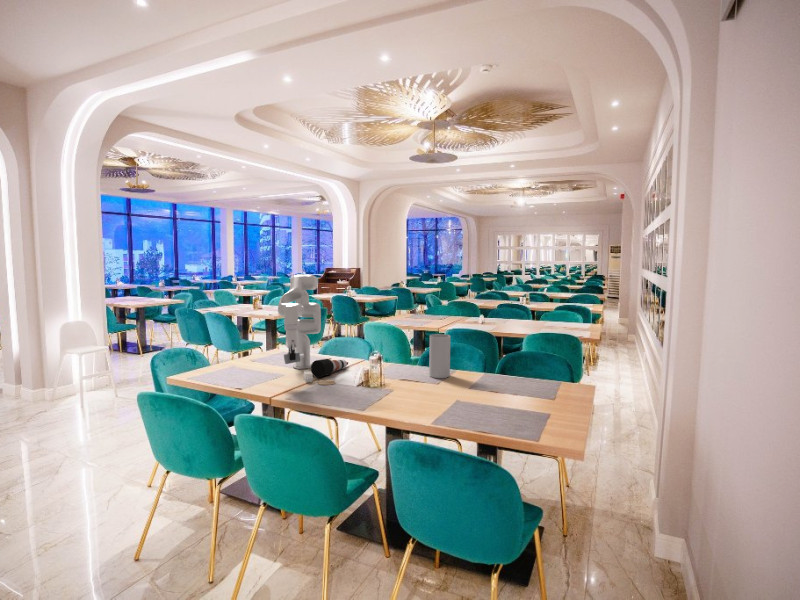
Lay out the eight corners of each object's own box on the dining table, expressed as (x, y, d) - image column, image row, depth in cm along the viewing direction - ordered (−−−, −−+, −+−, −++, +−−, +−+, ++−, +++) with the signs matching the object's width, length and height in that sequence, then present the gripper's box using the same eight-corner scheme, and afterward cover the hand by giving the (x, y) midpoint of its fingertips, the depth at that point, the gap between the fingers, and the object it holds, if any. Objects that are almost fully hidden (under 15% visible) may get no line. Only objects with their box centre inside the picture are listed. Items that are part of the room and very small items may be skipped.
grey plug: (285, 364, 253) (284, 355, 252) (284, 362, 256) (283, 354, 256) (305, 360, 257) (303, 351, 256) (303, 358, 260) (302, 350, 260)
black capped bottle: (349, 373, 301) (356, 361, 299) (319, 380, 271) (327, 366, 269) (338, 365, 305) (344, 352, 303) (308, 370, 275) (315, 356, 273)
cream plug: (303, 379, 270) (303, 370, 270) (310, 378, 272) (309, 370, 271) (306, 383, 260) (306, 375, 260) (313, 383, 261) (313, 374, 261)
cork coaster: (316, 381, 265) (316, 380, 265) (332, 379, 268) (332, 378, 268) (319, 385, 255) (319, 384, 255) (336, 384, 259) (336, 383, 259)
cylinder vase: (425, 376, 278) (425, 335, 276) (437, 372, 287) (437, 333, 285) (441, 379, 270) (442, 338, 268) (453, 375, 279) (454, 335, 277)
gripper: (282, 325, 260) (283, 356, 262) (286, 329, 245) (287, 363, 247) (295, 324, 263) (296, 355, 265) (300, 328, 248) (301, 361, 249)
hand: (291, 358), depth 256 cm, fingers closed on grey plug, 4 cm apart
